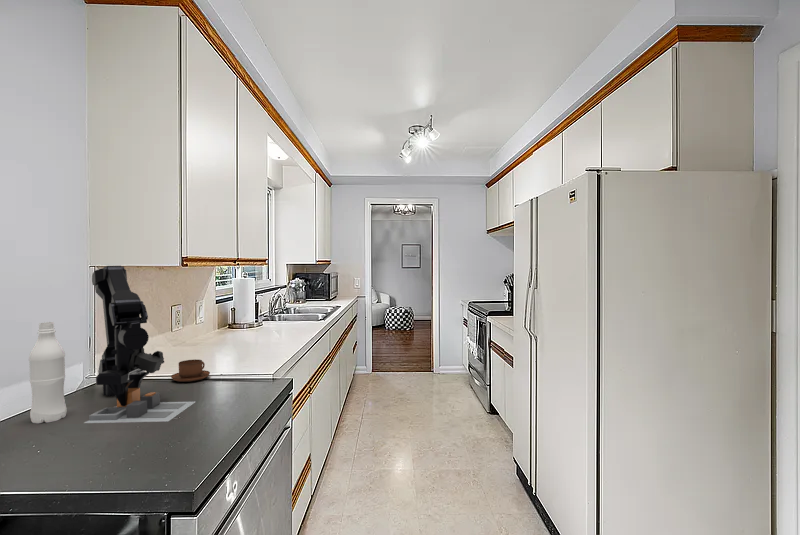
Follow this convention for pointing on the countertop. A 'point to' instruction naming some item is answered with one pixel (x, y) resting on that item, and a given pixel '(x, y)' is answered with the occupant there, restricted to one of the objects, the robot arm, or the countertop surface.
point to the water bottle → (47, 376)
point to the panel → (176, 411)
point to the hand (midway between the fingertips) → (128, 403)
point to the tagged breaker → (151, 399)
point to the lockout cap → (131, 396)
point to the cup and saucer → (190, 371)
